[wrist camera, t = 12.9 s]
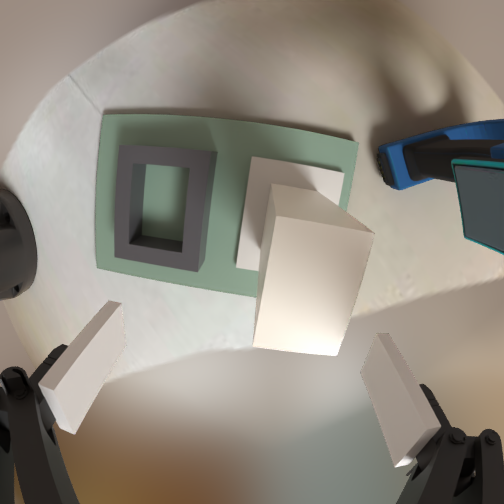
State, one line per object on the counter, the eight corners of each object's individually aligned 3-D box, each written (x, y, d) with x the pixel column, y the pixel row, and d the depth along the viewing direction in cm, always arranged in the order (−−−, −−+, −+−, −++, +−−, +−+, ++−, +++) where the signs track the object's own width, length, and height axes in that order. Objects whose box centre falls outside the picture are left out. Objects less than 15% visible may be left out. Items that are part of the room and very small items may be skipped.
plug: (260, 250, 26) (252, 346, 13) (271, 183, 24) (276, 215, 11) (304, 257, 26) (336, 355, 13) (317, 191, 24) (374, 233, 11)
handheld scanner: (351, 150, 24) (516, 165, 6) (473, 116, 22) (619, 124, 3) (366, 196, 26) (519, 288, 7) (483, 156, 23) (624, 191, 4)
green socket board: (101, 264, 29) (82, 278, 25) (108, 115, 24) (86, 111, 20) (321, 301, 29) (328, 322, 25) (355, 143, 24) (370, 141, 20)
